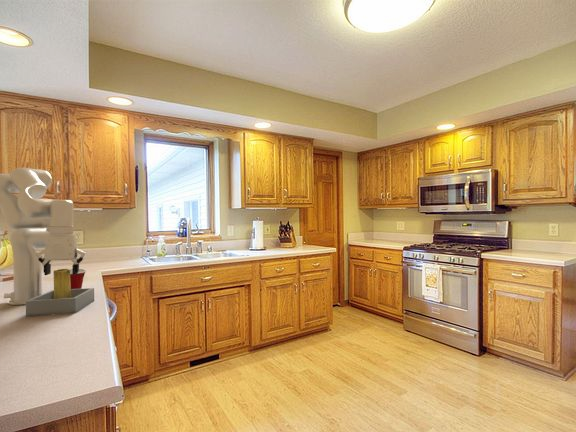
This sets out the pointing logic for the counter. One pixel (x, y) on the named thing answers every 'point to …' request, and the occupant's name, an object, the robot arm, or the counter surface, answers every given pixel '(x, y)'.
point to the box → (59, 303)
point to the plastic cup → (77, 279)
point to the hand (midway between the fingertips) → (61, 274)
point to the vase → (62, 284)
